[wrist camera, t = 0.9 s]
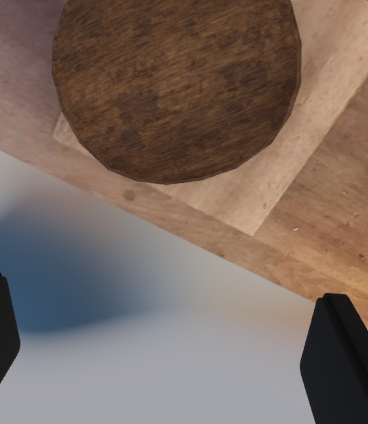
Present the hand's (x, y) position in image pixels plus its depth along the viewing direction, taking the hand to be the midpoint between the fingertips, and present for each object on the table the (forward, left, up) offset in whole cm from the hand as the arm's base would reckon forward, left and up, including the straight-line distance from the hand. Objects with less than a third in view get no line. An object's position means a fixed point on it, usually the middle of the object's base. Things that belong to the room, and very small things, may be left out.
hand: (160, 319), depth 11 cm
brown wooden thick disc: (-5, -1, -30) cm, 30 cm away
